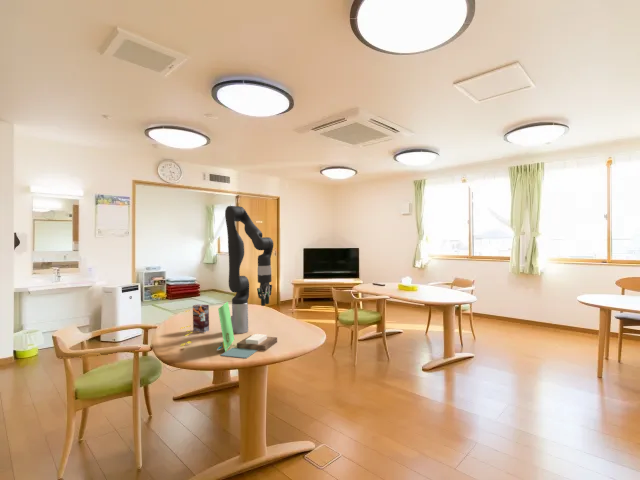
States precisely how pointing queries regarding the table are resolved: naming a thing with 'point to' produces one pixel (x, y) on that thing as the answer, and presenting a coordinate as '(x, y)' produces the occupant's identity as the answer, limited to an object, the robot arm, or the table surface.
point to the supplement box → (197, 324)
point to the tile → (256, 339)
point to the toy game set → (225, 325)
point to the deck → (262, 346)
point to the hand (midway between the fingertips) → (265, 304)
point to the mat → (239, 352)
